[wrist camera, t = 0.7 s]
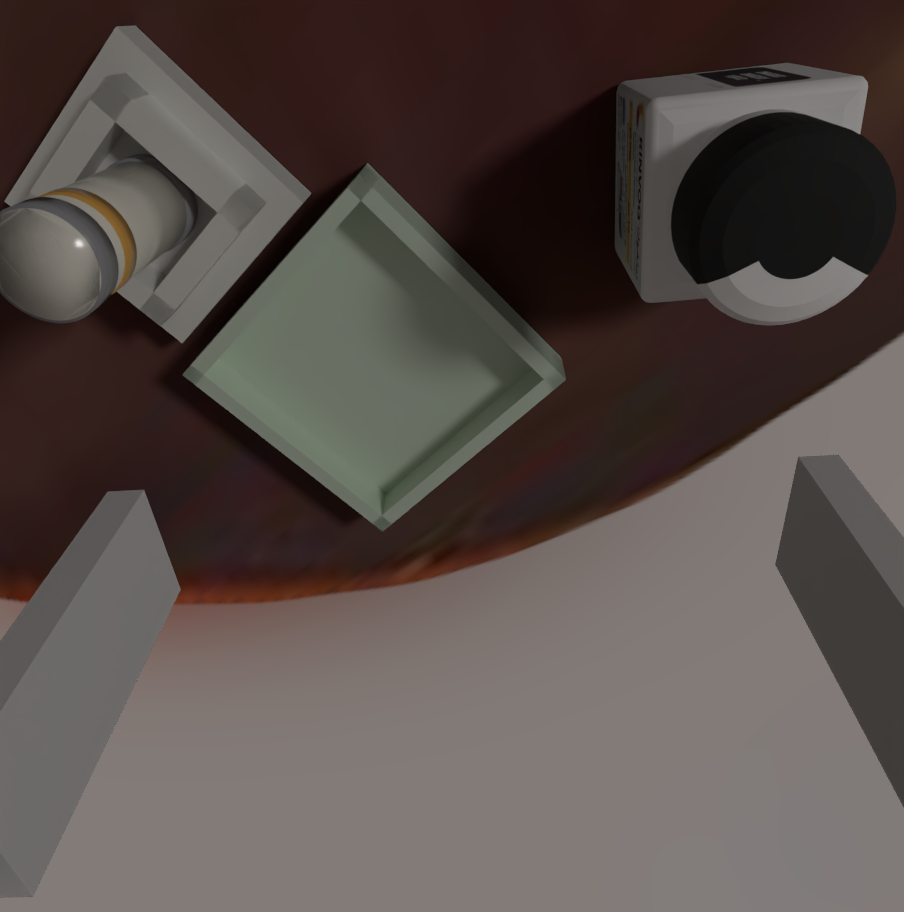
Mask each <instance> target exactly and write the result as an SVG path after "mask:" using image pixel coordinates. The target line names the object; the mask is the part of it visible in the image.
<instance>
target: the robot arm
mask: <svg viewBox="0 0 904 912" xmlns="http://www.w3.org/2000/svg"><path fill="white" fill-rule="evenodd" d="M776 567H777V568H778V570H779V572H780V574H781V576H782V578H783V580H784V582H785V584H786V585H787V587H788V589H789V591H790V593H791V595H792V597H793V599H794V600H795V602H796V604H797V606H798V608H799V610H800V612H801V614H802V616H803V618H804V619H805V621H806V623H807V625H808V627H809V629H810V631H811V633H812V635H813V636H814V638H815V640H816V642H817V644H818V646H819V648H820V650H821V652H822V654H823V655H824V657H825V659H826V661H827V663H828V665H829V667H830V669H831V671H832V672H833V674H834V676H835V678H836V680H837V682H838V684H839V686H840V687H841V690H842V691H843V693H844V695H845V697H846V699H847V701H848V703H849V705H850V707H851V708H852V710H853V712H854V714H855V716H856V718H857V720H858V722H859V724H860V726H861V727H862V729H863V731H864V733H865V735H866V737H867V739H868V741H869V742H870V744H871V746H872V748H873V750H874V752H875V754H876V756H877V758H878V760H879V761H880V763H881V765H882V767H883V769H884V771H885V773H886V775H887V777H888V779H889V780H890V782H891V784H892V786H893V788H894V790H895V792H896V794H897V796H898V797H899V799H900V801H901V803H902V805H903V807H904V537H903V536H902V535H901V534H900V532H899V531H898V530H897V529H896V527H895V526H894V525H893V523H892V522H891V521H890V520H889V518H888V517H887V516H886V514H885V513H884V512H883V511H882V509H881V508H880V507H879V506H878V504H877V503H876V502H875V501H874V499H873V498H872V497H871V495H870V494H869V493H868V492H867V490H866V489H865V488H864V487H863V485H862V484H861V483H860V481H859V480H858V479H857V478H856V477H855V475H854V474H853V473H852V471H851V470H850V469H849V467H848V466H847V465H846V464H845V462H844V461H843V460H842V459H841V457H840V456H839V455H828V456H807V457H798V461H797V465H796V470H795V475H794V480H793V484H792V489H791V494H790V498H789V503H788V508H787V513H786V517H785V522H784V527H783V531H782V536H781V541H780V546H779V550H778V555H777V560H776ZM179 592H180V587H179V584H178V581H177V579H176V576H175V573H174V570H173V568H172V565H171V562H170V559H169V557H168V554H167V551H166V549H165V546H164V543H163V540H162V538H161V535H160V532H159V529H158V527H157V524H156V521H155V519H154V516H153V513H152V510H151V508H150V505H149V502H148V499H147V497H146V494H145V491H144V490H130V491H110V492H107V493H106V495H105V496H104V498H103V499H102V500H101V502H100V503H99V505H98V506H97V507H96V509H95V510H94V512H93V513H92V514H91V516H90V517H89V519H88V520H87V521H86V523H85V524H84V525H83V527H82V528H81V530H80V531H79V532H78V534H77V535H76V537H75V538H74V539H73V541H72V542H71V544H70V545H69V546H68V548H67V549H66V551H65V552H64V553H63V555H62V556H61V557H60V559H59V560H58V562H57V563H56V564H55V566H54V567H53V569H52V570H51V571H50V573H49V574H48V576H47V577H46V578H45V580H44V581H43V583H42V584H41V585H40V587H39V588H38V589H37V591H36V592H35V594H34V595H33V596H32V598H31V599H30V601H29V602H28V603H27V605H26V606H25V608H24V609H23V610H22V612H21V613H20V615H19V616H18V617H17V619H16V620H15V622H14V623H13V624H12V626H11V627H10V628H9V630H8V631H7V633H6V634H5V635H4V637H3V638H2V640H1V641H0V897H33V895H34V893H35V891H36V889H37V887H38V885H39V883H40V881H41V879H42V877H43V874H44V873H45V870H46V868H47V866H48V864H49V862H50V860H51V858H52V856H53V854H54V852H55V850H56V848H57V845H58V843H59V841H60V839H61V837H62V835H63V833H64V831H65V829H66V827H67V825H68V823H69V821H70V818H71V816H72V814H73V812H74V810H75V808H76V806H77V804H78V802H79V800H80V798H81V796H82V793H83V791H84V789H85V787H86V785H87V783H88V781H89V779H90V777H91V775H92V773H93V771H94V768H95V766H96V764H97V762H98V760H99V758H100V756H101V754H102V752H103V750H104V748H105V746H106V744H107V742H108V739H109V737H110V735H111V733H112V731H113V729H114V727H115V725H116V723H117V721H118V719H119V717H120V714H121V712H122V710H123V708H124V706H125V704H126V702H127V700H128V698H129V696H130V694H131V692H132V689H133V687H134V685H135V683H136V681H137V679H138V677H139V675H140V672H141V671H142V668H143V666H144V665H145V662H146V660H147V658H148V656H149V654H150V652H151V650H152V648H153V646H154V644H155V642H156V640H157V637H158V635H159V633H160V631H161V629H162V627H163V625H164V623H165V621H166V619H167V617H168V615H169V613H170V610H171V608H172V606H173V604H174V602H175V600H176V598H177V596H178V594H179Z"/></svg>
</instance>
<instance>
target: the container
mask: <svg viewBox="0 0 904 912" xmlns="http://www.w3.org/2000/svg"><path fill="white" fill-rule="evenodd" d="M867 91H868V82H867V81H866V80H865V79H864V77H862V76H856V75H851V74H845V73H840V72H835V71H829V70H824V69H818V68H813V67H807V66H802V65H796V64H791V63H783V64H774V65H765V66H756V67H747V68H738V69H729V70H720V71H711V72H702V73H693V74H684V75H675V76H665V77H656V78H647V79H638V80H629V81H624V82H622V83H621V84H620V85H619V86H618V88H617V92H616V181H615V250H616V252H617V254H618V256H619V258H620V260H621V262H622V263H623V265H624V267H625V269H626V271H627V273H628V274H629V276H630V278H631V280H632V282H633V284H634V285H635V287H636V289H637V291H638V293H639V295H640V296H641V298H642V299H643V300H644V301H645V302H649V303H656V302H668V301H679V300H691V299H703V298H707V299H708V300H709V301H710V302H711V304H713V305H714V306H715V307H716V308H718V309H719V310H720V311H721V312H723V313H725V314H727V315H728V316H730V317H732V318H735V319H737V320H740V321H743V322H747V323H751V324H758V325H782V324H788V323H793V322H797V321H801V320H804V319H807V318H810V317H812V316H815V315H817V314H819V313H822V312H823V311H825V310H827V309H829V308H830V307H832V306H834V305H835V304H837V303H838V302H840V301H841V300H842V299H844V298H845V297H847V296H848V295H849V294H850V293H851V292H852V291H853V290H855V289H856V288H857V287H858V286H859V285H860V284H861V283H862V281H863V280H864V279H865V278H866V277H867V276H868V275H869V273H870V272H871V271H872V269H873V268H874V266H875V265H876V264H877V262H878V260H879V259H880V257H881V255H882V253H883V252H884V250H885V248H886V245H887V243H888V240H889V238H890V235H891V232H892V228H893V224H894V220H895V213H896V190H895V184H894V179H893V176H892V173H891V171H890V168H889V166H888V164H887V162H886V160H885V159H884V157H883V155H882V154H881V153H880V152H879V150H878V149H877V148H876V147H875V146H874V145H873V144H872V143H871V142H870V141H869V140H867V139H866V138H865V137H864V136H862V135H860V132H861V126H862V120H863V114H864V108H865V102H866V96H867Z"/></svg>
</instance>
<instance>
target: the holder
mask: <svg viewBox="0 0 904 912" xmlns="http://www.w3.org/2000/svg"><path fill="white" fill-rule="evenodd" d="M137 154H149V155H153V156H154V157H155V158H157V159H158V160H159V161H160V162H161V163H162V164H163V165H164V166H166V167H167V168H168V169H169V170H170V171H171V172H172V173H173V174H175V175H176V176H177V177H178V178H179V179H180V180H181V181H182V182H184V183H185V184H186V185H187V186H188V187H189V188H190V189H191V190H193V191H194V193H195V196H196V200H197V205H198V216H197V221H196V225H195V227H194V229H193V231H192V232H191V234H190V235H189V236H188V237H187V238H186V239H185V240H184V241H182V242H181V243H180V244H179V245H177V246H176V247H175V248H173V249H172V250H170V251H167V252H165V253H163V254H162V255H160V256H159V257H158V258H157V259H155V260H154V261H153V262H151V263H150V264H149V265H147V266H146V267H145V268H144V269H142V270H141V271H140V272H138V273H137V274H136V275H135V276H133V277H132V278H131V279H129V281H128V282H127V283H126V284H125V285H124V286H123V287H121V288H120V289H119V290H117V292H118V293H119V294H120V295H122V296H123V297H124V298H125V299H127V300H128V301H129V302H130V303H132V304H133V305H134V306H136V307H137V308H138V309H139V310H141V311H142V312H143V313H144V314H146V315H147V316H148V317H149V318H151V319H152V320H153V321H154V322H156V323H157V324H158V325H159V326H161V327H162V328H164V329H165V330H166V331H167V332H169V333H170V334H171V335H172V336H174V337H175V338H176V339H177V340H179V341H180V342H181V343H183V342H184V341H185V340H186V339H187V338H188V336H189V335H190V334H191V333H192V332H193V331H194V330H195V329H196V327H197V326H198V325H199V324H200V323H201V322H202V320H203V319H204V318H205V317H206V316H207V315H208V313H209V312H210V311H211V310H212V309H213V308H214V306H215V305H216V304H217V303H218V302H219V301H220V299H221V298H222V297H223V296H224V295H225V294H226V292H227V291H228V290H229V289H230V288H231V287H232V286H233V284H234V283H235V282H236V281H237V280H238V279H239V277H240V276H241V275H242V274H243V273H244V272H245V270H246V269H247V268H248V267H249V266H250V265H251V263H252V262H253V261H254V260H255V259H256V258H257V256H258V255H259V254H260V253H261V252H262V251H263V249H264V248H265V247H266V246H267V245H268V244H269V242H270V241H271V240H272V239H273V238H274V237H275V235H276V234H277V233H278V232H279V231H280V230H281V229H282V227H283V226H284V225H285V224H286V223H287V222H288V220H289V219H290V218H291V217H292V216H293V215H294V213H295V212H296V211H297V210H298V209H299V208H300V206H301V205H302V204H303V203H304V202H305V201H306V199H307V198H308V197H309V196H310V195H311V194H312V193H311V192H310V191H309V190H307V189H306V188H305V187H304V186H303V185H302V184H301V183H300V182H299V181H298V180H297V179H296V178H295V177H294V176H293V175H292V174H291V173H290V172H289V171H288V170H286V169H285V168H284V167H283V166H282V165H281V164H280V163H279V162H278V161H277V160H276V159H275V158H274V157H273V156H272V155H271V154H270V153H269V152H268V151H267V150H265V149H264V148H263V147H262V146H261V145H260V144H259V143H258V142H257V141H256V140H255V139H254V138H253V137H252V136H251V135H250V134H249V133H248V132H247V131H246V130H244V129H243V128H242V127H241V126H240V125H239V124H238V123H237V122H236V121H235V120H234V119H233V118H232V117H231V116H230V115H229V114H228V113H227V112H226V111H225V110H223V109H222V108H221V107H220V106H219V105H218V104H217V103H216V102H215V101H214V100H213V99H212V98H211V97H210V96H209V95H208V94H207V93H206V92H205V91H204V90H202V89H201V88H200V87H199V86H198V85H197V84H196V83H195V82H194V81H193V80H192V79H191V78H190V77H189V76H188V75H187V74H186V73H185V72H184V71H183V70H181V69H180V68H179V67H178V66H177V65H176V64H175V63H174V62H173V61H172V60H171V59H170V58H169V57H168V56H167V55H166V54H165V53H164V52H163V51H162V50H160V49H159V48H158V47H157V46H156V45H155V44H154V43H153V42H152V41H151V40H150V39H149V38H148V37H147V36H146V35H145V34H144V33H143V32H142V31H141V30H139V29H138V28H137V27H136V26H119V27H116V28H115V29H114V31H113V32H112V34H111V35H110V37H109V39H108V40H107V42H106V43H105V45H104V46H103V48H102V49H101V51H100V53H99V54H98V56H97V57H96V59H95V60H94V62H93V64H92V65H91V67H90V68H89V70H88V71H87V73H86V74H85V76H84V78H83V79H82V81H81V82H80V84H79V85H78V87H77V89H76V90H75V92H74V93H73V95H72V96H71V98H70V99H69V101H68V103H67V104H66V106H65V107H64V109H63V110H62V112H61V114H60V115H59V117H58V118H57V120H56V121H55V123H54V124H53V126H52V128H51V129H50V131H49V132H48V134H47V135H46V137H45V139H44V140H43V142H42V143H41V145H40V146H39V148H38V149H37V151H36V153H35V154H34V156H33V157H32V159H31V160H30V162H29V164H28V165H27V167H26V168H25V170H24V171H23V173H22V174H21V176H20V178H19V179H18V181H17V182H16V184H15V185H14V187H13V189H12V190H11V192H10V193H9V195H8V196H7V198H6V200H5V201H4V202H6V203H7V204H8V205H9V206H13V205H15V204H18V203H20V202H22V201H25V200H27V199H31V198H36V197H38V196H41V195H43V194H45V193H48V192H50V191H53V190H55V189H60V188H63V187H66V186H68V185H70V184H72V183H75V182H77V181H79V180H82V179H84V178H86V177H89V176H91V175H93V174H96V173H98V172H100V171H103V170H105V169H106V168H107V167H109V166H110V165H111V164H113V163H115V162H117V161H120V160H122V159H124V158H127V157H129V156H132V155H137Z"/></svg>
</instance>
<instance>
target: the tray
mask: <svg viewBox="0 0 904 912" xmlns="http://www.w3.org/2000/svg"><path fill="white" fill-rule="evenodd" d="M183 376H184V377H185V378H187V379H188V380H189V381H191V382H192V383H193V384H194V385H196V386H197V387H198V388H200V389H201V390H202V391H203V392H205V393H206V394H207V395H208V396H210V397H211V398H212V399H214V400H215V401H216V402H217V403H219V404H220V405H221V406H223V407H224V408H225V409H226V410H228V411H229V412H230V413H232V414H233V415H234V416H235V417H237V418H238V419H239V420H241V421H242V422H243V423H244V424H246V425H247V426H248V427H249V428H251V429H252V430H253V431H255V432H256V433H257V434H258V435H260V436H261V437H262V438H264V439H265V440H266V441H267V442H269V443H270V444H271V445H273V446H274V447H275V448H276V449H278V450H279V451H280V452H282V453H283V454H284V455H285V456H287V457H288V458H289V459H291V460H292V461H293V462H294V463H296V464H297V465H298V466H299V467H301V468H302V469H303V470H305V471H306V472H307V473H308V474H310V475H311V476H312V477H314V478H315V479H316V480H317V481H319V482H320V483H321V484H323V485H324V486H325V487H326V488H328V489H329V490H330V491H332V492H333V493H334V494H335V495H337V496H338V497H339V498H340V499H342V500H343V501H344V502H346V503H347V504H348V505H349V506H351V507H352V508H353V509H355V510H356V511H357V512H358V513H360V514H361V515H362V516H364V517H365V518H366V519H367V520H369V521H370V522H371V523H373V524H374V525H375V526H376V527H378V528H379V529H380V530H381V531H384V530H385V529H386V528H387V527H389V526H390V525H391V524H392V523H393V522H395V521H396V520H397V519H398V518H400V517H401V516H402V515H403V514H404V513H406V512H407V511H408V510H409V509H410V508H412V507H413V506H414V505H415V504H416V503H418V502H419V501H420V500H421V499H422V498H424V497H425V496H426V495H427V494H429V493H430V492H431V491H432V490H433V489H435V488H436V487H437V486H438V485H439V484H441V483H442V482H443V481H444V480H445V479H447V478H448V477H449V476H450V475H451V474H453V473H454V472H455V471H456V470H458V469H459V468H460V467H461V466H462V465H464V464H465V463H466V462H467V461H468V460H470V459H471V458H472V457H473V456H474V455H476V454H477V453H478V452H479V451H480V450H482V449H483V448H484V447H485V446H487V445H488V444H489V443H490V442H491V441H493V440H494V439H495V438H496V437H497V436H499V435H500V434H501V433H502V432H503V431H505V430H506V429H507V428H508V427H509V426H511V425H512V424H513V423H514V422H516V421H517V420H518V419H519V418H520V417H522V416H523V415H524V414H525V413H526V412H528V411H529V410H530V409H531V408H532V407H534V406H535V405H536V404H537V403H538V402H540V401H541V400H542V399H543V398H545V397H546V396H547V395H548V394H549V393H551V392H552V391H553V390H554V389H555V388H557V387H558V386H559V385H560V384H561V383H563V382H564V381H565V380H566V377H565V372H564V368H563V363H562V359H561V357H560V356H559V355H558V354H557V353H556V352H555V351H554V350H553V349H552V348H551V347H550V346H549V345H548V344H547V343H546V342H545V341H544V340H543V339H542V338H541V337H540V336H539V335H538V334H537V333H536V332H535V331H534V330H533V329H532V328H531V327H530V326H529V325H528V324H527V322H526V321H525V320H524V319H523V318H522V317H521V316H520V315H519V314H518V313H517V312H516V311H515V310H514V309H513V308H512V307H511V306H510V305H509V304H508V303H507V302H506V301H505V300H504V299H503V298H502V297H501V296H500V295H499V294H498V293H497V292H496V291H495V290H494V289H493V288H492V287H491V286H490V285H489V284H488V283H487V282H486V281H485V280H484V279H483V278H482V277H481V276H480V275H479V274H478V273H477V272H476V271H475V270H474V269H473V268H472V267H471V266H470V265H469V264H468V263H467V262H466V261H465V260H464V259H463V258H462V257H461V256H460V255H459V254H458V253H457V252H456V251H455V250H454V249H453V248H452V247H451V246H450V245H449V244H448V243H447V242H446V241H445V240H444V239H443V238H442V237H441V236H440V235H439V234H438V233H437V232H436V231H435V230H434V229H433V228H432V227H431V226H430V225H429V224H428V223H427V222H426V221H425V220H424V219H423V218H422V217H421V216H420V215H419V214H418V213H417V212H416V211H415V210H414V209H413V208H412V207H411V206H410V205H409V204H408V203H407V202H406V201H405V200H404V199H403V198H402V197H401V196H400V195H399V194H398V193H397V192H396V191H395V190H394V189H393V188H392V187H391V186H390V185H389V184H388V183H387V182H386V181H385V180H384V179H383V178H382V177H381V176H380V175H379V174H378V173H377V172H376V171H375V170H374V169H373V168H372V167H371V166H370V165H369V164H368V163H367V164H366V165H365V166H364V167H363V169H362V170H361V171H360V172H359V173H358V174H357V175H356V177H355V178H354V179H353V180H352V181H351V182H350V183H349V185H348V186H347V187H346V188H345V189H344V190H343V191H342V192H341V194H340V195H339V196H338V197H337V198H336V199H335V200H334V202H333V203H332V204H331V205H330V206H329V207H328V208H327V209H326V211H325V212H324V213H323V214H322V215H321V216H320V217H319V219H318V220H317V221H316V222H315V223H314V224H313V225H312V227H311V228H310V229H309V230H308V231H307V232H306V233H305V234H304V236H303V237H302V238H301V239H300V240H299V241H298V242H297V244H296V245H295V246H294V247H293V248H292V249H291V250H290V252H289V253H288V254H287V255H286V256H285V257H284V258H283V259H282V261H281V262H280V263H279V264H278V265H277V266H276V267H275V269H274V270H273V271H272V272H271V273H270V274H269V275H268V276H267V278H266V279H265V280H264V281H263V282H262V283H261V284H260V286H259V287H258V288H257V289H256V290H255V291H254V292H253V294H252V295H251V296H250V297H249V298H248V299H247V300H246V301H245V303H244V304H243V305H242V306H241V307H240V308H239V309H238V311H237V312H236V313H235V314H234V315H233V316H232V317H231V318H230V320H229V321H228V322H227V323H226V324H225V325H224V326H223V328H222V329H221V330H220V331H219V332H218V333H217V334H216V336H215V337H214V338H213V339H212V340H211V341H210V342H209V343H208V345H207V346H206V347H205V348H204V349H203V350H202V351H201V353H200V354H199V355H198V356H197V357H196V359H195V360H194V361H193V362H192V364H191V365H190V366H189V367H188V368H187V370H186V371H185V372H184V373H183Z"/></svg>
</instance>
